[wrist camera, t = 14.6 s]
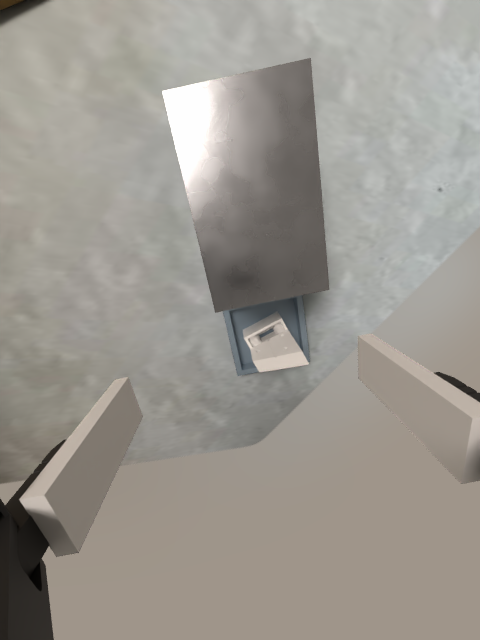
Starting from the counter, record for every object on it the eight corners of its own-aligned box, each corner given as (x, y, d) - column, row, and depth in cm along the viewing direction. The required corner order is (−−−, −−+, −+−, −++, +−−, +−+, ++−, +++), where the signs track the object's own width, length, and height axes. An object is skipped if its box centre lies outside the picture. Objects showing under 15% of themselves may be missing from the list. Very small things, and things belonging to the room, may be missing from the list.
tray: (237, 368, 38) (237, 376, 36) (222, 302, 35) (221, 306, 33) (305, 354, 38) (310, 361, 36) (296, 287, 35) (301, 290, 32)
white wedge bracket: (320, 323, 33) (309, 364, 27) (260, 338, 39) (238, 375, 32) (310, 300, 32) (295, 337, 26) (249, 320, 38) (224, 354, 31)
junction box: (219, 288, 34) (213, 315, 22) (188, 152, 29) (158, 88, 17) (295, 273, 34) (331, 291, 22) (277, 132, 29) (313, 53, 17)
